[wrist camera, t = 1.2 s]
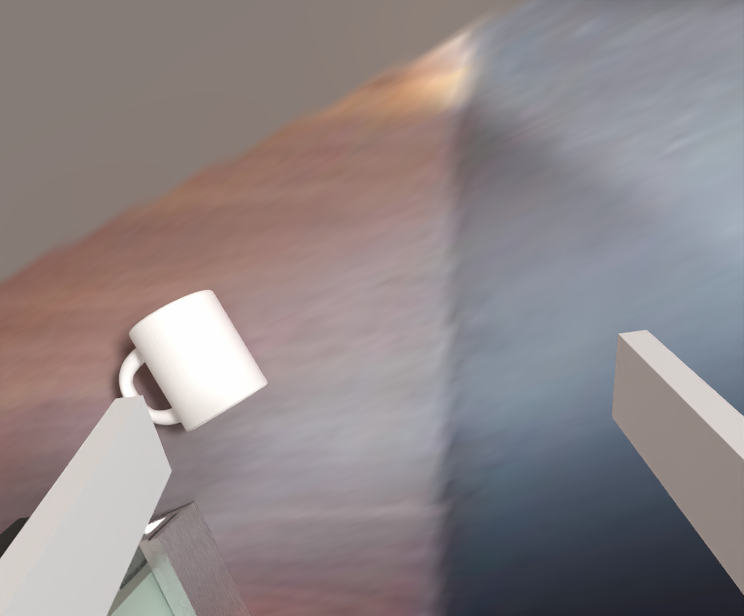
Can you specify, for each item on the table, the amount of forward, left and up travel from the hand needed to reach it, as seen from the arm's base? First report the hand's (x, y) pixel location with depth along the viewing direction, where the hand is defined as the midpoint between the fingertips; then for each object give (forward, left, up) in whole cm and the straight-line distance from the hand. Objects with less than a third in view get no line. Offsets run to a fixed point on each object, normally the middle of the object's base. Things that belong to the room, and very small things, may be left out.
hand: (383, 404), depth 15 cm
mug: (+5, +21, -34) cm, 40 cm away
